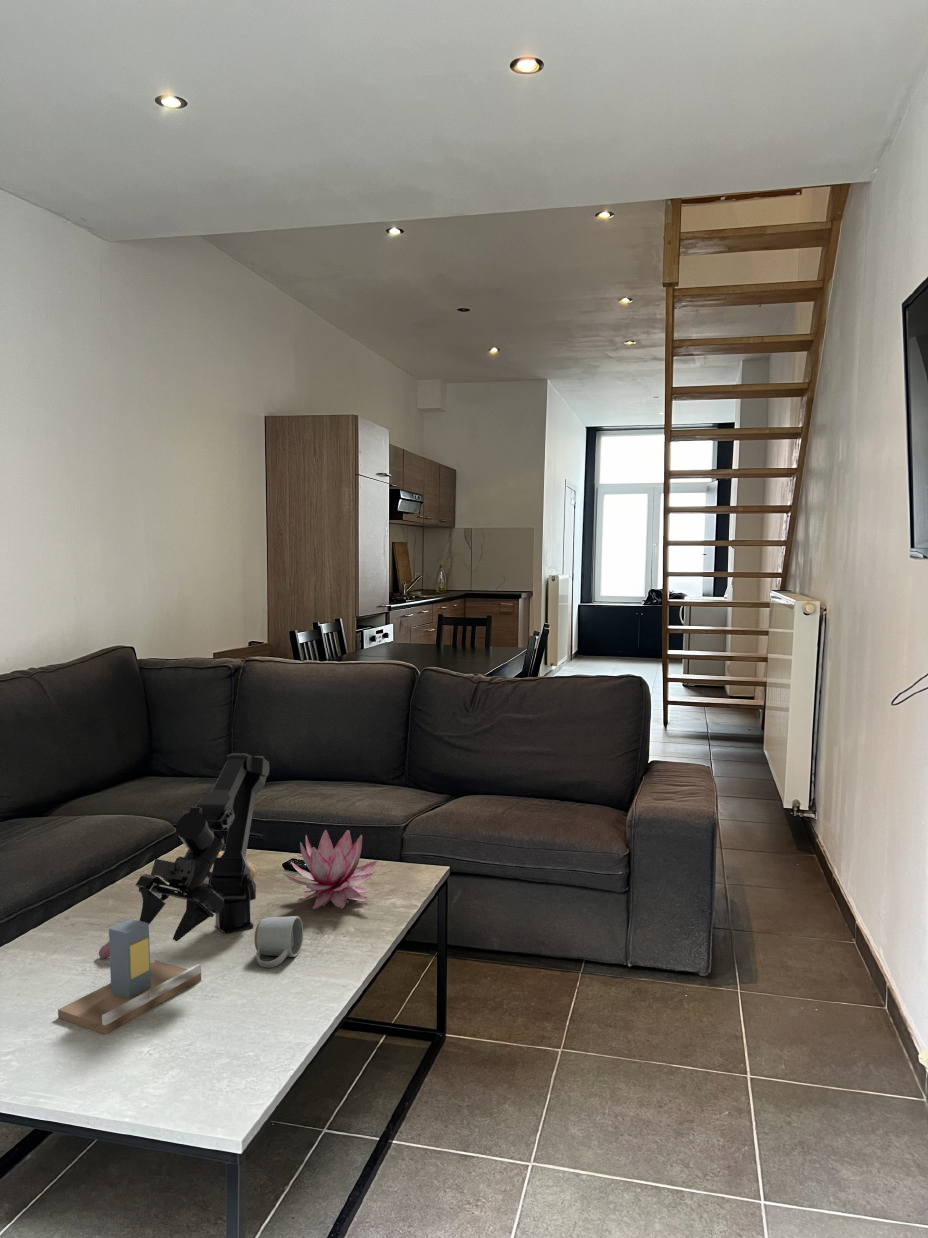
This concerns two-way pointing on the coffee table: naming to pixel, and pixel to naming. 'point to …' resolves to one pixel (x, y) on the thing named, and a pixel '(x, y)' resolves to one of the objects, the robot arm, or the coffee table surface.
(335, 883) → the decorative flower
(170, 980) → the board
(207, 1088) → the coffee table surface
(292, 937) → the ceramic mug
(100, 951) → the pink elongated piece
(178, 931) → the robot arm
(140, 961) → the tea tin
